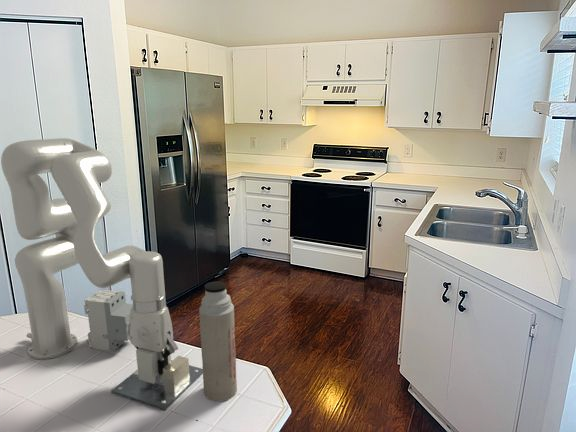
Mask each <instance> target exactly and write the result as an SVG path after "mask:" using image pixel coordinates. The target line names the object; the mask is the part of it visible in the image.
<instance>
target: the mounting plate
mask: <svg viewBox="0 0 576 432" xmlns="http://www.w3.org/2000/svg"><path fill="white" fill-rule="evenodd" d="M189 363H190V362H189V357H185V356H182V355H177V356H176V357H175V358H174V359H173V360H172V359H171V362H170V363H169V364H168V365H167V366H165V367H164V368H163V374H162V375H159V374H158V375H157V376H156V377H155V383H154V384H152V383H149V382H146V381H143V380H139V377H138V368H137V369H136V370H135V371H134V372H132V374H130V375H129V376H128V377H126V378H125V379H124V380H123V381H121V382H120V383H119V384H117V385H116V386H114V388H112V389H111V390H110V393H111V394H113V395H116V396H119V397H122V398H125V399H128V400H131V401H134V402H138V403H140V404H144V405H146V406H149V407H151V408H155V409H159V410H160V411H161V410H162V411H164V412H165V411H166V410H168V408H170V407H171V405H173V404H174V403H175V402H176V401H177V400H178V399H179V398H180V397H181V396H182V394H184V393H185V392H186V391H187V390H188V389H189V388H190V387H191V386H192V385H193V384H194V383H195V382H196V381H197V380H198V379H199V378H200V377H201V376H203V368H201V367H196V366H193V365H190V364H189Z"/></svg>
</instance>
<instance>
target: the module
mask: <svg viewBox="0 0 576 432" xmlns="http://www.w3.org/2000/svg"><path fill="white" fill-rule="evenodd" d="M168 348H169V346H168ZM162 352H163V354H164V350H163V351H162ZM135 354H136V365H137V369H138V377H139V380H143V381H146V382H149V383H152V384H154V383H155V377H156V376H157V375H158V374H159V373H158V360H159V357H158V353H157V352H155V351H151V350H147V349H143V348H139V349H136V350H135ZM171 355H172V354H170V355H169V356H168V364H169V363H170V362H171V360H172V356H171Z"/></svg>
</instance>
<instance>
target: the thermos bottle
mask: <svg viewBox="0 0 576 432" xmlns="http://www.w3.org/2000/svg"><path fill="white" fill-rule="evenodd" d="M204 290H205V292H204V293H205V294H204V296H203V297H202V299H201V302H200V304H201V305H200V307H199V309H198V311H199V313H198V314H199V315H198V316H199V329H200V330H199V332H200V345H201V347H200V348H201V361H202V369H203V374H202V380H203V382H202V383H203V395H204V396H205V398H206V399H207V400H209V401H211V402H215V403H216V402H224V401H228V400H230V399H232V398H233V397H234V396H235V395H236V393H237V391H238V390H237V389H238V387H237V385H238V384H237V382H238V381H237V361H236V360H237V357H236V334H235V333H236V329H235V328H236V326H235V306H234V304H233V303H232V299H231V295H230V294H227V283H225V282H224V281H211V282H207V283H205V284H204Z"/></svg>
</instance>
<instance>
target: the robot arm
mask: <svg viewBox="0 0 576 432" xmlns="http://www.w3.org/2000/svg"><path fill="white" fill-rule="evenodd" d="M0 158H1V159H0V164H1V169H2V172H3V176H4V177H5V180H6V181H7V184H8V186H9V190H10V195H11V196H10V197H11V199H12V200H11V202H12V208H13V213H14V220H15V221H14V222H15V225H16V230H17V233H18V235H19V236H20V237H21V238H22V239H24V240H27V241H33V240H35V241H36V240H38V239H44V238H47V237H50V236H54V235H55V237H53V238H48V239H45V240H42V241H37V242H34V243H31V244H28V245H26V246H24V247H22V248H21V249H19V250H18V251H17V253H16V254H15V257H14V265H15V268H16V270H17V273H18V277H19V278H20V280H21V281H20V282H21V284H22V289H23V293H24V297H25V303H26V308H27V313H28V321H29V326H30V327H29V328H30V332H28V333H27V334H26V338H29V339H30V340H31V344H30V345H29V346H28V348H27V355H28V356H29V357H30V358H32V359H35V360H49V359H54V358H58V357H60V356H63V355H65V354H67V353H69V352H71V351H72V350H73V349H74V348H75V347H76V346H77V345H78V337H77V336H76V335H75V334H73V333H71V329H70V328H71V327H70V321H69V315H68V306H67V302H66V299H67V298H66V294H65V293H66V292H65V288H64V285H63V283H61V282H60V281H59V279H57V278H56V277H55V274H57V273H58V272H59V273H60V271H63V270H67V269H69V268H71V267H74V266H76V265H78V264H79V266H80V268H81V269H82V271H83V273H84V275H85V276H86V278H87V279H88V280H89V282H90V283H91V284H92V285H94V286H95V287H97V288H100V289H106V288H109V287H112V286H114V285H116V284H118V283H120V282H123V281H125V280H127V279H130V286H131V287H130V289H131V296H130V301H132V304H133V307H132V308H131V312H130V321H129V329H130V337H129V340H128V341H129V342H130V344H131V345H132V346H134V347H135V349H136V350H137V349H139V348H143V349H147V350H151V351H155V352H157V353H158V357H159V360H158V373H159V375H162V374H163V368H164V367H165V366H167V365H168V356H169V355H170V354H171V355H172V354H174V353H175V352H176V351H178V350H179V347H178V345H177V344H176V342H175V340H174V332H173V330H174V329H173V324H172V318H171V315H170V311H169V307H168V306H167V302H166V290H165V287H166V286H165V278H164V277H165V275H164V261H163V257H162V255H161V254H160V253H158V252H157V251H148V250H147V251H146V250H144V249H142V248H140V247H138V246H135V245H126V246H123V247H120V248H116V249H115V250H112V251H111V250H110V251H109V252H106V253H104V254H102V252H101V251H100V249H99V247H98V245H97V243H96V240H95V230H96V227H97V224H98V223H99V221H101V219H103V218H104V217H105V216H106V215H107V214H108V213H109V212H110V210H111V207H112V205H111V201H109V199H108V197H107V196H106V193H105V192H104V190H103V188H102V186H101V184H103V183H104V182H107V181H109V179H110V178H111V176H112V174H113V170H112V169H113V167H112V164H111V162H110V160H109V159H108V157H107V156H106V155H105V154H104V153H102V151H100V150H98V149H96V148H93V147H91V146H88V145H86V144H84V143H81V142H79V141H77V140H74V139H71V138H66V137H65V138H61V137H59V138H47V139H46V138H45V139H43V138H42V139H31V140H30V139H29V140H28V139H27V140H21V141H20V140H19V141H17V142H13V143H11V144H8V146H6V147H5V148H4V149H3V151H2V153H1V157H0ZM46 173H50V174H51V177H52V178H53V180H54V182H55V184H56V186H57V188H58V189H59V191H60V192H61V195H62V196H63V198H55V199H50V192H49V187H48V184H47V183H46V181H45V180H44V179H43V178H42V177H41V176H40V175H41V174H46ZM168 346H169V348H168ZM163 350H164V354H163V352H162V351H163Z"/></svg>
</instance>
